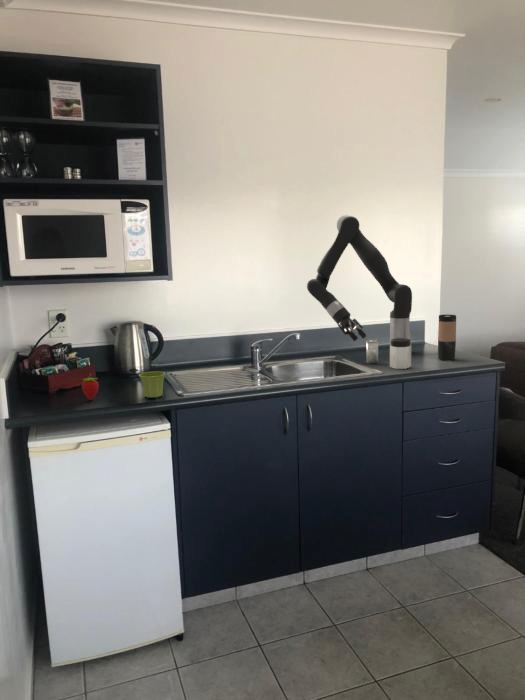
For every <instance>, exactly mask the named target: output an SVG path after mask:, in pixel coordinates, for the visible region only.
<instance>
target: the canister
mask: <svg viewBox="0 0 525 700" xmlns="http://www.w3.org/2000/svg"><path fill="white" fill-rule="evenodd" d="M365 342H366V344H365V345H366V354H365V355H366V357H365V359H366V364H373V365H376V364H378V363H379V340H378V339H367V340H365Z"/></svg>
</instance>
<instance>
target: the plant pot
mask: <svg viewBox="0 0 525 700" xmlns="http://www.w3.org/2000/svg"><path fill="white" fill-rule="evenodd" d="M165 375H166V372H165V371H158V370H157V371H155V370H154V371H146V372H142V373H140V374H138V377H139V379H140V381H141V385H142V388H143V394H144V397H145V396H146V397H158V396H161V395H162V396H163V391H164V390H163V389H164V379H165ZM158 398H159V397H158Z"/></svg>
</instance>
